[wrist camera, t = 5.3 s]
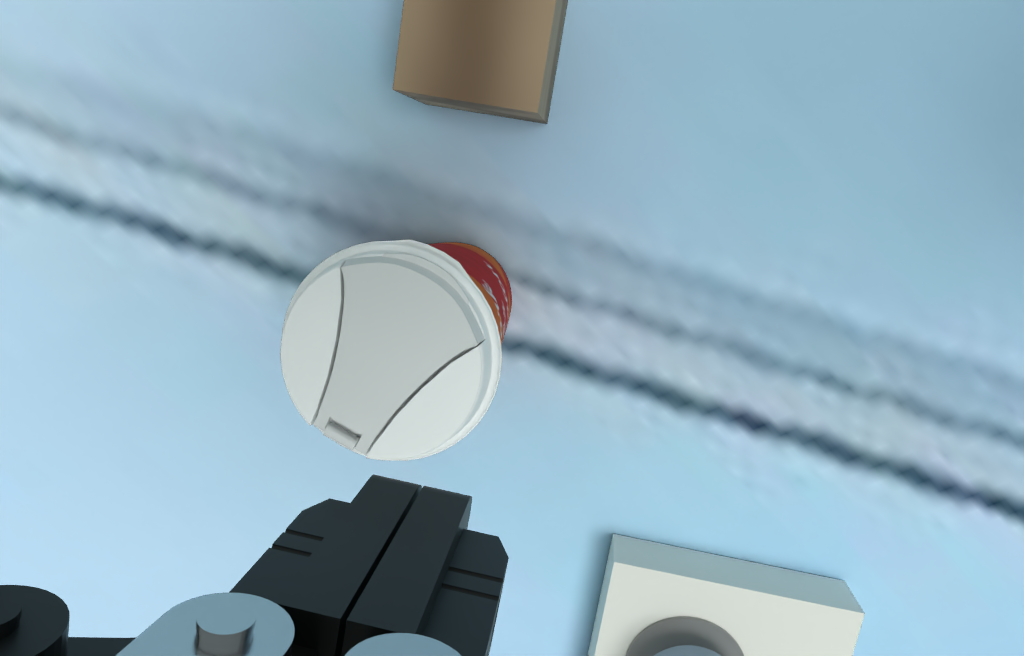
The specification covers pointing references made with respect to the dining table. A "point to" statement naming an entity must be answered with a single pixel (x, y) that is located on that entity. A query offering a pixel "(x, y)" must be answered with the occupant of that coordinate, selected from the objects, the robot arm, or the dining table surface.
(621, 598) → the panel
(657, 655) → the one-dot button
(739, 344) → the dining table surface
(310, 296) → the paper cup
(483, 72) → the walnut block
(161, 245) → the dining table surface
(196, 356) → the dining table surface
